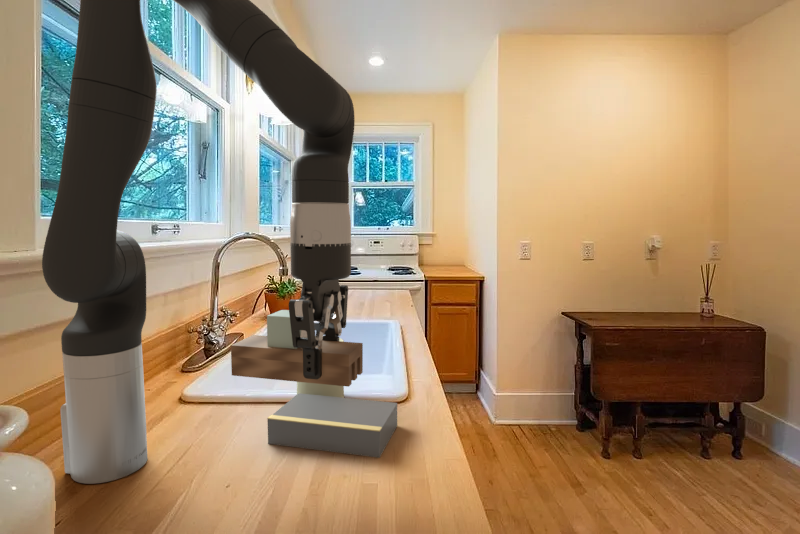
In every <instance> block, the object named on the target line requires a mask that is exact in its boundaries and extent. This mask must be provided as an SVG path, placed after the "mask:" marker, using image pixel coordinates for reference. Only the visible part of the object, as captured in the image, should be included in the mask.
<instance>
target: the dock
mask: <svg viewBox="0 0 800 534" xmlns="http://www.w3.org/2000/svg"><path fill="white" fill-rule="evenodd" d="M266 420H267V444H270V445H275V446H283V447H284V446H285V447H291V448H293V447H294V448H300V449H309V450H316V451H324V452H331V453H332V452H333V453H341V454H349V455H356V456H362V457H364V456H365V457H371V458H381V457H382V454H383V452H384V451H385V449H386V447H387V445H388V443H389V441H390V439H391V438H392V436H393V435H394V433H395V431H396V429H397V426H398V402H394V401H393V402H391V401H381V400H372V399H371V400H370V399H360V398H350V397H345V398H342V397H331V396H321V395H311V394H301V393H298V394H297V393H296V395H295V396H294V397H292V398H291V399H290V400H288V401H287V402H286V403H285V404H284V405H282V406H281V407H279V409H277V410H276V411H275V412H274V413H273V414H270V415H269V416H268V417H267V418H266Z"/></svg>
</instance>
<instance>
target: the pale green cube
mask: <svg viewBox="0 0 800 534" xmlns="http://www.w3.org/2000/svg"><path fill="white" fill-rule="evenodd" d="M266 334H267V335H266V336H267V346H268V347H281V348H293V349H297V347H293V342H292V333H291V324H290V315H289V309H280V310H278V311H275V312H273V313H271V314H267V315H266ZM300 336H301V330H300Z"/></svg>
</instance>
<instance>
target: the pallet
mask: <svg viewBox="0 0 800 534" xmlns="http://www.w3.org/2000/svg"><path fill="white" fill-rule="evenodd" d="M363 345H364V344H363V342H355V341H354V342H351V341H344V342H341V341H326V340H322V346H321V349H322V376H321V377H320V378H319V379H307V378H305V377H304V376H303V349H302V348H299V347H298V348H297V349H293V348H281V347H268V346H267V335H260V334H259V335H257V334H256V335H255V334H253V335H250V336H248V337H246V338H244V339H242V340H240V341H236V342H235V343H232V344H231V345H230V365H231V376H235V377H244V378H254V379H255V378H256V379H264V380H265V379H267V380H274V381H275V380H276V381H277V380H278V381H287V382H288V381H289V382H296V383H297V382H306V383H316V384H327V385H337V386H344V387H350V386H351V385H352V381H356V380H357V379H358V376H361V375H362V374H363V372H364V371H363V365H364V364H363V354H364V353H363Z"/></svg>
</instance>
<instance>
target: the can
mask: <svg viewBox="0 0 800 534" xmlns="http://www.w3.org/2000/svg"><path fill="white" fill-rule="evenodd" d="M315 337H316V335H315ZM339 341H341V342H345V340H344V339H343V338H341V337H339ZM344 388H345V386H337V385H327V384H316V383H306V382H296V395H297V394H298V393H301V394H311V395H321V396H331V397H342V398H344V397H345V389H344Z"/></svg>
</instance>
